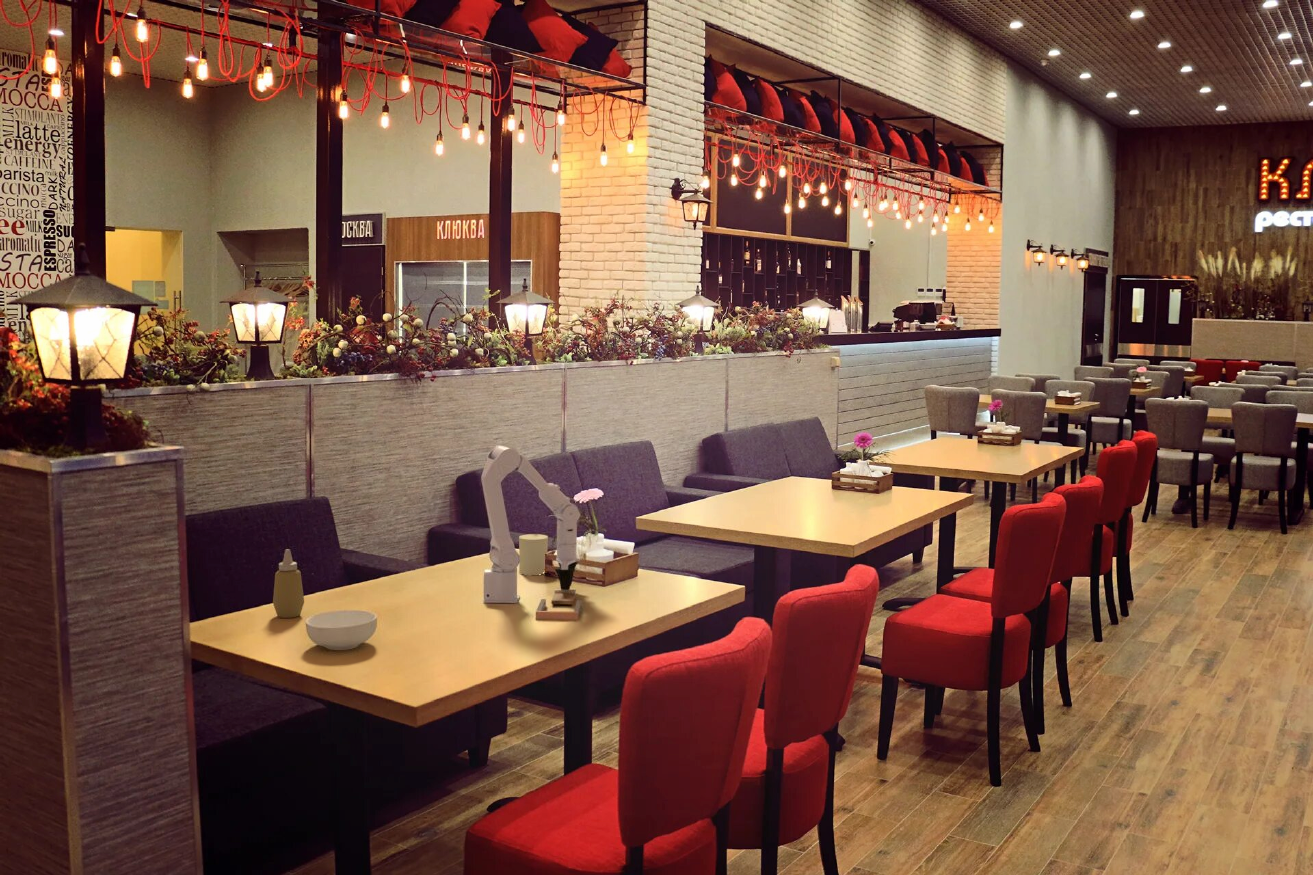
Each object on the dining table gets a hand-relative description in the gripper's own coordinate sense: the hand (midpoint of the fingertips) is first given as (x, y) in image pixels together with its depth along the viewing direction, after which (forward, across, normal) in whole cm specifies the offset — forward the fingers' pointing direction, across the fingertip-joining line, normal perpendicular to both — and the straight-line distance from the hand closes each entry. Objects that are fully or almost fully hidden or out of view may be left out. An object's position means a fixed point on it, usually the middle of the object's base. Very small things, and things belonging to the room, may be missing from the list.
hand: (566, 588), depth 340 cm
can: (+2, +28, +13) cm, 31 cm away
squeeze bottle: (+2, -29, +72) cm, 78 cm away
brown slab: (+2, -9, 0) cm, 9 cm away
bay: (+2, -21, 0) cm, 21 cm away
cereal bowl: (+2, -56, +50) cm, 75 cm away
